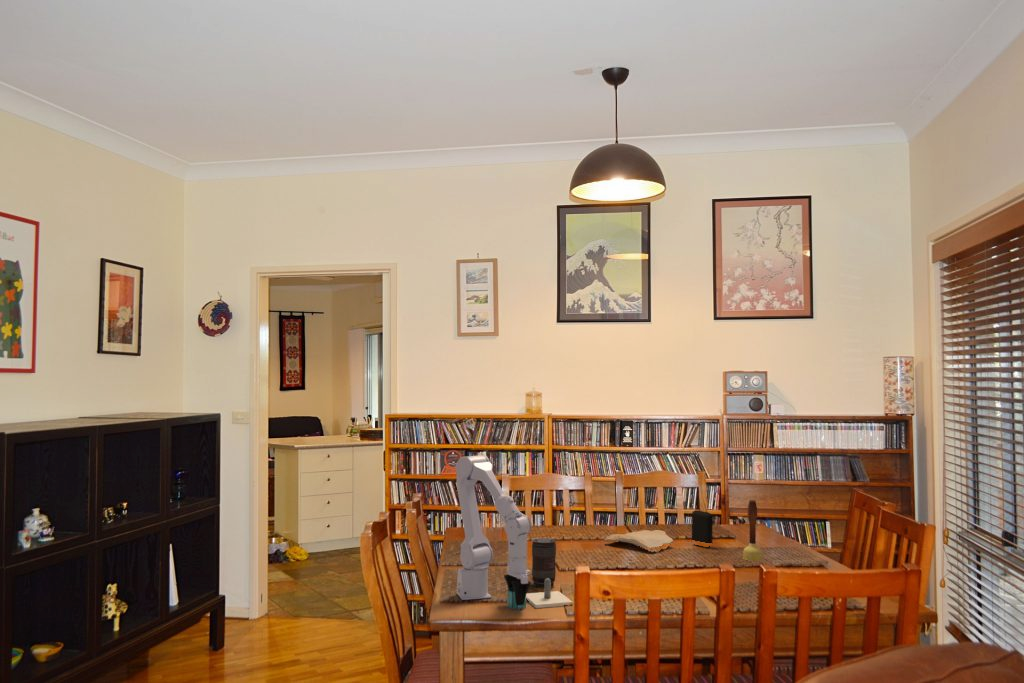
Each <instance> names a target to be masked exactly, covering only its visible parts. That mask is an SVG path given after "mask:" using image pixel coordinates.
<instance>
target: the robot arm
mask: <svg viewBox="0 0 1024 683" xmlns="http://www.w3.org/2000/svg"><path fill="white" fill-rule="evenodd" d="M454 466H455V471H456V480H455V481H456V488H457V489H456V490H457V494H458V501H459V502H458V503H459V506H460V513H461V518H462V520H461V521H462V524H463V525H462V526H463V531H464V536H465V538H464V539H463V541H462V542H461V543H460V556H459V558H460V562H461V564H462V566H463V567H462V568H458V569H457V576H456V578H457V579H456V580H457V583H456V594H457V595H458V597H459V598H460V599H461V601H462V600H463V601H466V600H480V599H481V600H482V599H492V595H491V594H490V593H489V592H488V591H489V590H488V589H489V588H488V578H489V577H488V576H489V574H488V573H489V567H490V564H491V562H492V561H493V559H494V551H493V549H492V547H491V545H490V541H489V539H488V538H487V537H486V536H485V535H483V530H482V525H481V523H482V522H481V519H480V513H479V506H478V501H477V496H476V490H475V485H476V483H477V482H478V481H480V482H482V484H483V485H484V486H485V488H486V489H487V491H488V493H490V495H491V496H492V498H493V500H494V507H495V509H496V511H497V512H498V514H499V515H500V517H501V519H502V520H503V523H504V524H505V525H504V526H503V527H504V532H505V534H506V536H507V537H506V540H507V544H508V547H507V549H508V550H507V566H506V574H504V575H503V578H504V580H505V583H506V585H507V590H508V589H509V588H512V587H513V588H514V591H515V599H516V604H517V605H524V601H525V597H526V594H527V593H528V592H529V591H528V590H529V588H530V587H531V583H532V582H531V581H529V576H528V574H531V570H530V569H528V534H529V533H530V532H531V529H532V522H531V520H530V517H529V516H528V515H526V514H524V513H522V512H521V511H520V509H519V508H518V506H517V505H516V503H515V500H514V498H513V497H512V496H510V495H509V494H505V492H504V490H503V489H502V486H501V485H500V483H499V481H498V479H497V477H496V475H495V474H494V472H493V464H492V463H491V462H490V459H489V458H488V456H487V455H485V454H479V455H470V456H469V455H468V456H467V455H466V456H461V457H459V459H458V460H457V462H456V463H455V465H454Z"/></svg>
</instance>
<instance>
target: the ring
mask: <svg viewBox="0 0 1024 683" xmlns="http://www.w3.org/2000/svg"><path fill="white" fill-rule="evenodd" d="M506 605H507V606H506V607H507V608H508V609H510V610H525V609H526V608H527V600H526V597H525V601H524V605H517V604H516V599H515V591H514V588H513V587H512V588H509V589H508V588H507V601H506Z"/></svg>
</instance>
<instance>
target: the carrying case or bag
mask: <svg viewBox="0 0 1024 683" xmlns="http://www.w3.org/2000/svg"><path fill="white" fill-rule="evenodd" d="M714 525H715V520H714V518H713V515H712V514H711V513H710V512H709V511H702V510H699V509H698V510H695V509H694V510H693V511H692V513H691V541H692V540H695V541H700V542H705V543H712V544H713V526H714Z"/></svg>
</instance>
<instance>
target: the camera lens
mask: <svg viewBox="0 0 1024 683" xmlns="http://www.w3.org/2000/svg"><path fill="white" fill-rule="evenodd" d="M531 557H532V561H531V562H532V563H531V565H532V567H531V577H532V578H531V579H532V582H533V583H532V584H533V586H534V585H536V586H537V587H536V588H539V589H544V581H545V579H546V578H549V579H550V580H551V588H552V587H554V582H555V581H556V557H557V543H556V540H555V539H554V538H545V537H543V538H535V539H532V544H531Z"/></svg>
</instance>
